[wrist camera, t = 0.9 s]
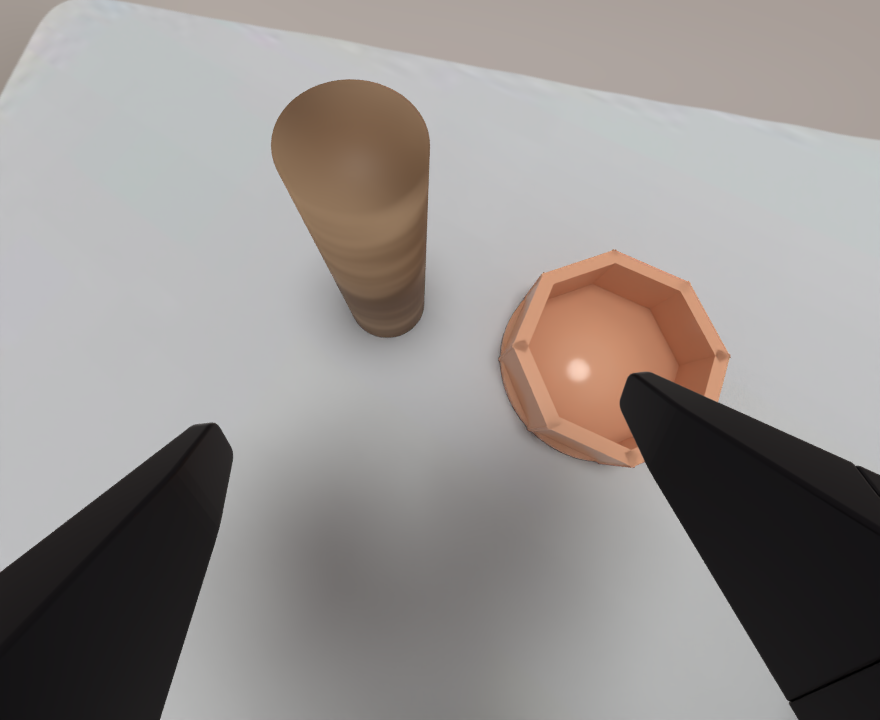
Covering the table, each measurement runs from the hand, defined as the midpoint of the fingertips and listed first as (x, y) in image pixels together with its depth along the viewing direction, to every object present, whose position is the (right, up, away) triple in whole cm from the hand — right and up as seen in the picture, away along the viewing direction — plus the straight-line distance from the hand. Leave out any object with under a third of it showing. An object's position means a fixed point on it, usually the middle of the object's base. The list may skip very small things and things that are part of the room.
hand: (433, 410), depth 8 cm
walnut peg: (-3, +5, +16) cm, 17 cm away
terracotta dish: (+10, +1, +16) cm, 19 cm away
